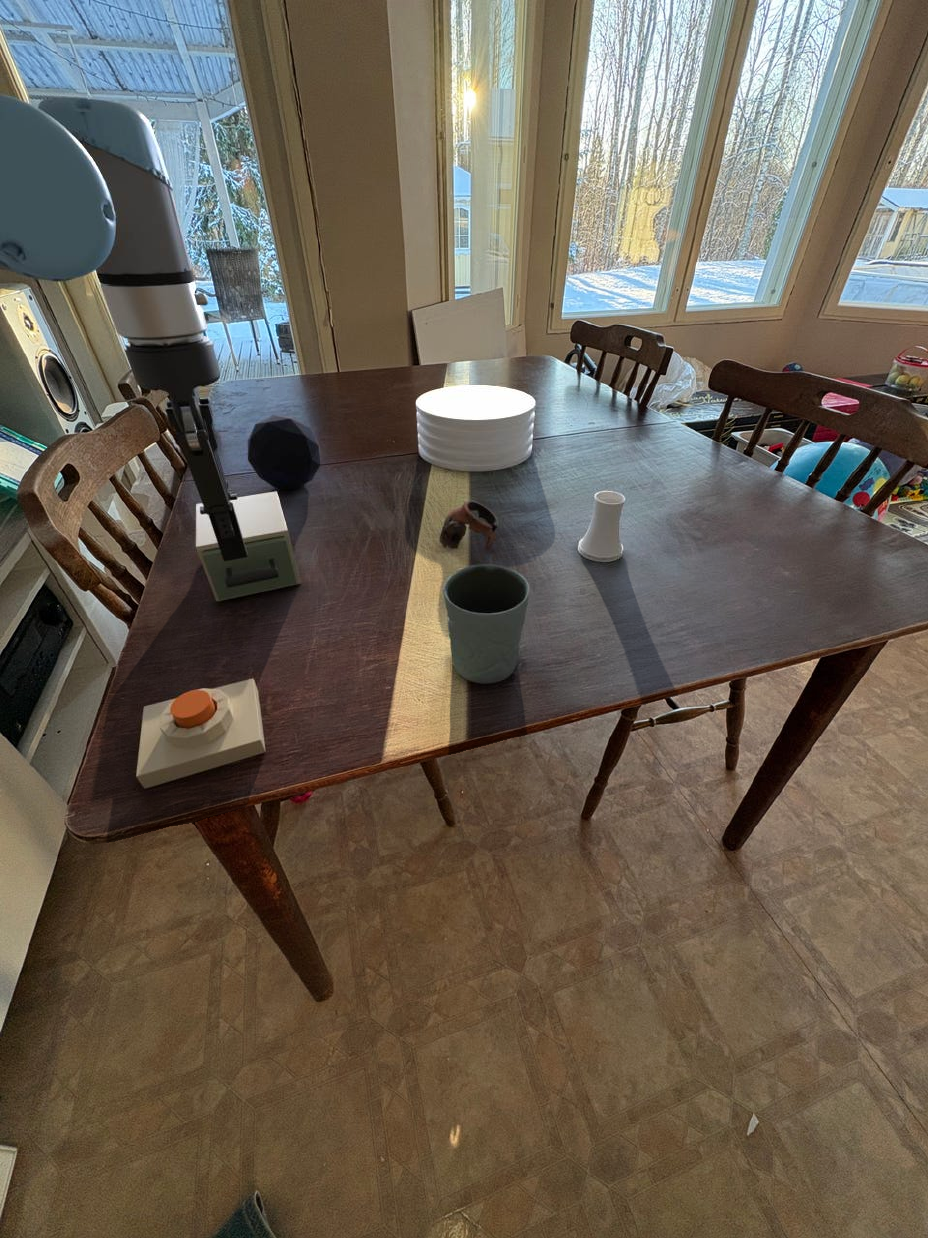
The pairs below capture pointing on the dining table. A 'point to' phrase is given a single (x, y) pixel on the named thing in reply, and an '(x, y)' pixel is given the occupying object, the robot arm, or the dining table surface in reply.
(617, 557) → the vase
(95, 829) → the dining table surface
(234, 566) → the green drawer
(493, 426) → the plate stack
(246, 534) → the white drawer cabinet
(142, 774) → the control block
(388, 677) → the dining table surface
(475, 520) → the brown curved piece
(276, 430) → the decorative orb
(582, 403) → the dining table surface
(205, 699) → the button
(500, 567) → the green cup
